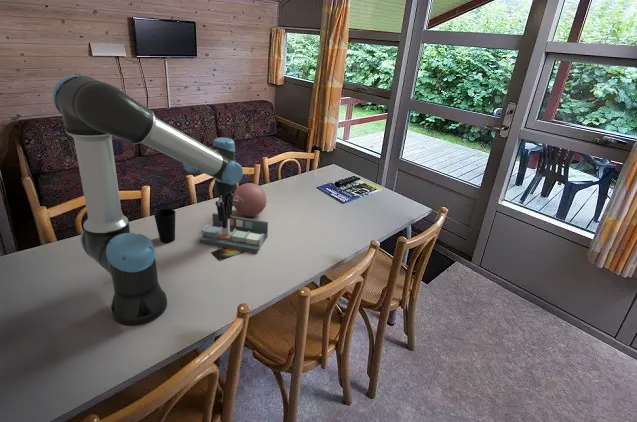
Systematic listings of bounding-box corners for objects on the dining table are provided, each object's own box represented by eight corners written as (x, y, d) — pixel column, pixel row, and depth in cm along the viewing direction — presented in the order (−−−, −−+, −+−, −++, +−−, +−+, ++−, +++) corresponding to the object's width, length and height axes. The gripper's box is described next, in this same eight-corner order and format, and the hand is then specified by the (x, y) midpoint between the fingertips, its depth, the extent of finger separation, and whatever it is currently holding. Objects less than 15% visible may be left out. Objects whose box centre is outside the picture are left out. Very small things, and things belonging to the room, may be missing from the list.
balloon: (217, 214, 168) (216, 184, 161) (253, 204, 181) (254, 175, 174) (235, 228, 158) (235, 196, 151) (272, 216, 171) (273, 186, 164)
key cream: (257, 244, 144) (257, 240, 143) (245, 242, 145) (245, 238, 144) (261, 238, 148) (261, 234, 148) (249, 236, 149) (249, 232, 148)
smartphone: (210, 252, 140) (243, 240, 149) (210, 253, 140) (243, 241, 150) (219, 260, 135) (253, 248, 145) (219, 262, 136) (253, 249, 145)
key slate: (215, 237, 146) (215, 233, 145) (204, 235, 147) (204, 231, 146) (220, 231, 150) (220, 227, 149) (209, 229, 151) (209, 225, 150)
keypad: (257, 253, 142) (257, 238, 139) (199, 243, 145) (198, 228, 142) (267, 236, 155) (268, 221, 152) (214, 227, 157) (213, 212, 154)
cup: (170, 246, 141) (168, 218, 136) (153, 242, 143) (149, 215, 137) (181, 236, 148) (179, 210, 143) (164, 233, 149) (161, 207, 144)
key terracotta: (229, 242, 146) (229, 238, 145) (218, 240, 146) (218, 236, 146) (234, 236, 150) (234, 232, 149) (223, 234, 151) (223, 230, 150)
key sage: (243, 242, 145) (243, 237, 144) (232, 240, 145) (232, 236, 144) (247, 236, 149) (247, 232, 148) (236, 234, 150) (236, 230, 149)
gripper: (227, 187, 131) (228, 242, 141) (240, 175, 142) (240, 227, 152) (207, 183, 131) (210, 239, 142) (222, 172, 143) (223, 224, 153)
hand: (225, 233), depth 147 cm, fingers closed
